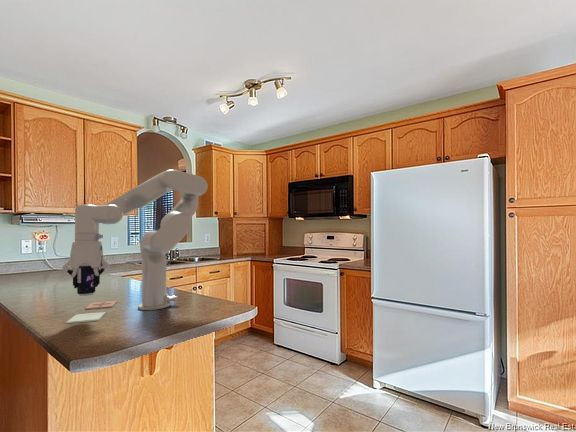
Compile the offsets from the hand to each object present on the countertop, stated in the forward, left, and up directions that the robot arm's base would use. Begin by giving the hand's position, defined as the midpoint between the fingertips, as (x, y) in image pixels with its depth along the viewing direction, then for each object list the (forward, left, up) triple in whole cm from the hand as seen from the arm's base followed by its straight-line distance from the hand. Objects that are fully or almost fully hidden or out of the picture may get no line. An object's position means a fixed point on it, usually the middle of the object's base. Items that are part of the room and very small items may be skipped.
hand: (86, 286), depth 119 cm
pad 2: (0, -20, -12) cm, 23 cm away
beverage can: (0, 0, -3) cm, 3 cm away
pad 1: (0, 0, -12) cm, 12 cm away
